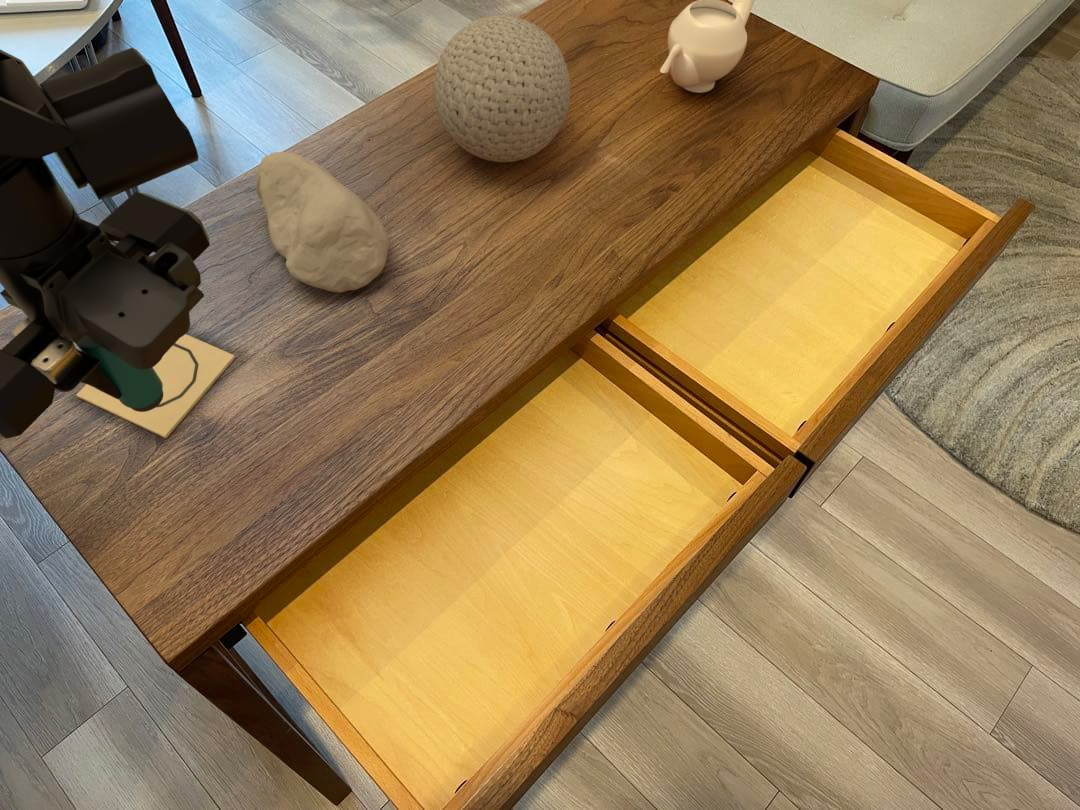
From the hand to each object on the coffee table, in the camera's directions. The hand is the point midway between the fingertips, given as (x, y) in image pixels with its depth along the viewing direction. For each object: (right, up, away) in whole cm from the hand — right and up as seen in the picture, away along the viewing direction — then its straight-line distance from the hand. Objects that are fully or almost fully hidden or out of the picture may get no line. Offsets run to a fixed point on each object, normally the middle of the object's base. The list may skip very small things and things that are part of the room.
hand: (131, 378), depth 58 cm
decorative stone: (+7, +15, +25) cm, 30 cm away
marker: (0, -1, +2) cm, 3 cm away
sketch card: (-5, +1, +15) cm, 16 cm away
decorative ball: (+26, +28, +35) cm, 52 cm away
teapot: (+50, +40, +43) cm, 77 cm away
